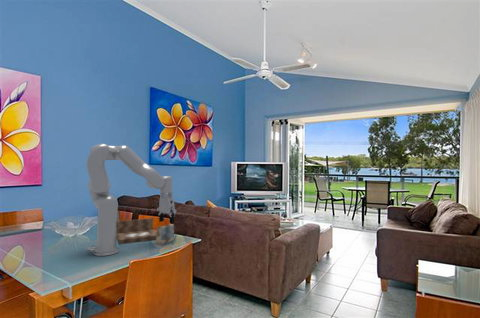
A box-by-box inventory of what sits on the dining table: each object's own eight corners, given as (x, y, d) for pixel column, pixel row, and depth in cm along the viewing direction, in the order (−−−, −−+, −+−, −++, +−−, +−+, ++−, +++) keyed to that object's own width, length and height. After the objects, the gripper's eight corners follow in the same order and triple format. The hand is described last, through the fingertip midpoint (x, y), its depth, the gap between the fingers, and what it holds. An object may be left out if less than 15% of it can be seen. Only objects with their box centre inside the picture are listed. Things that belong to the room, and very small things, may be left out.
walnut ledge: (119, 244, 164) (119, 227, 164) (115, 237, 181) (116, 221, 182) (159, 239, 176) (159, 223, 177) (152, 232, 193) (152, 218, 194)
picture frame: (160, 244, 164) (160, 228, 164) (154, 243, 167) (154, 227, 167) (175, 240, 174) (175, 224, 174) (169, 239, 177) (170, 223, 177)
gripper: (180, 195, 170) (180, 222, 169) (162, 194, 179) (162, 219, 179) (170, 196, 163) (171, 225, 163) (152, 195, 173) (153, 221, 173)
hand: (166, 222), depth 171 cm, fingers open, 9 cm apart
